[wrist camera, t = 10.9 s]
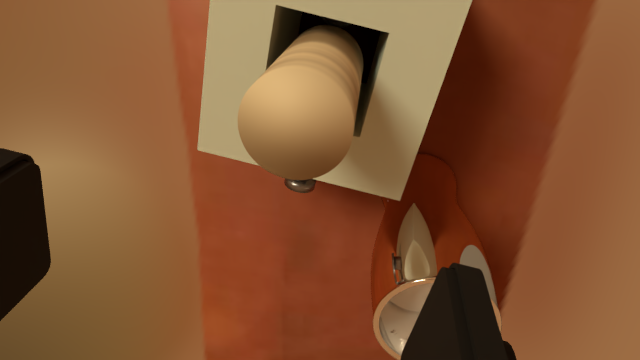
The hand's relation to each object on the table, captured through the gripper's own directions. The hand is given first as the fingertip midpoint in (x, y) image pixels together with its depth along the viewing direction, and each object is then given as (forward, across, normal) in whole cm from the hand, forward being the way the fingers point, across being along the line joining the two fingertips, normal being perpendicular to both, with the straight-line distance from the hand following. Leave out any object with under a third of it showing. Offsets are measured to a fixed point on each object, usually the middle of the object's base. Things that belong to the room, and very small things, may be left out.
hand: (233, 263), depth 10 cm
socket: (+25, 0, 0) cm, 25 cm away
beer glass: (+25, -9, +10) cm, 29 cm away
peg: (+17, 0, 0) cm, 17 cm away
